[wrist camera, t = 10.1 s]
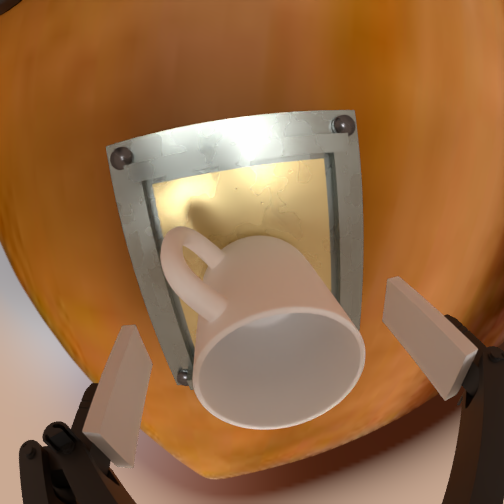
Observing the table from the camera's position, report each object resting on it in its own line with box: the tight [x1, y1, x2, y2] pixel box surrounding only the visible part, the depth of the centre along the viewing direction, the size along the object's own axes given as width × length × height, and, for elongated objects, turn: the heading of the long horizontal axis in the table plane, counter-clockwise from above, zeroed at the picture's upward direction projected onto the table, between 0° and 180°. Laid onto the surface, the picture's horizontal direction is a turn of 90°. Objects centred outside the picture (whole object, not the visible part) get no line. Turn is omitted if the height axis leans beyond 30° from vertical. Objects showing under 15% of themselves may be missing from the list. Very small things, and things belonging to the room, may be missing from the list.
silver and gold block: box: [106, 110, 363, 390], centre depth 22 cm, size 22×18×8 cm
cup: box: [160, 226, 365, 429], centre depth 16 cm, size 8×12×10 cm
